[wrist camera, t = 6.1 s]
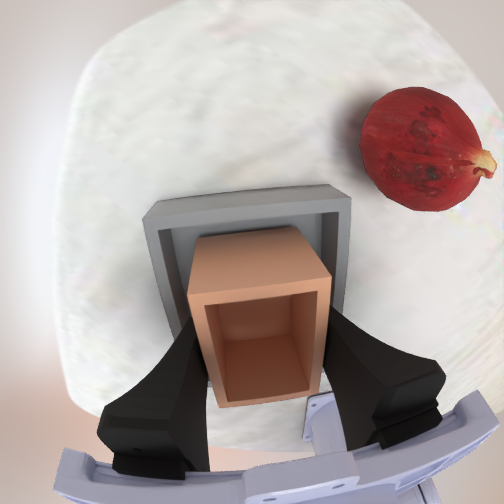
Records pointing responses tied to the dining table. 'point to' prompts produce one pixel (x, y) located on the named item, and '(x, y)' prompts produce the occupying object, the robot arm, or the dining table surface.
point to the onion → (423, 150)
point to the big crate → (244, 220)
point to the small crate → (260, 314)
